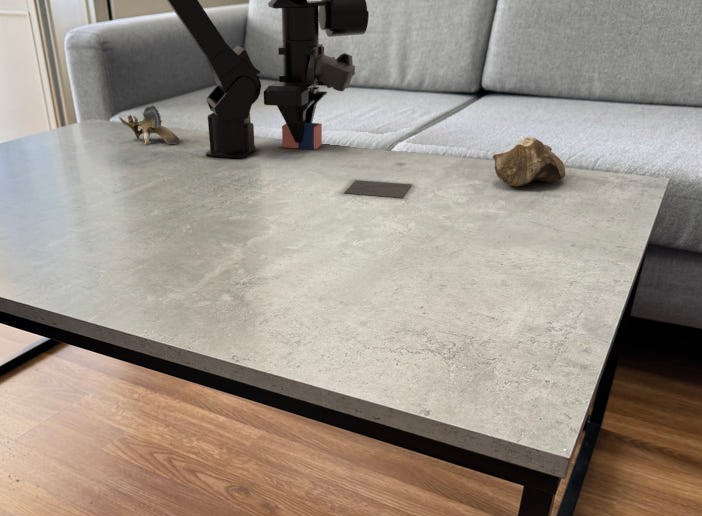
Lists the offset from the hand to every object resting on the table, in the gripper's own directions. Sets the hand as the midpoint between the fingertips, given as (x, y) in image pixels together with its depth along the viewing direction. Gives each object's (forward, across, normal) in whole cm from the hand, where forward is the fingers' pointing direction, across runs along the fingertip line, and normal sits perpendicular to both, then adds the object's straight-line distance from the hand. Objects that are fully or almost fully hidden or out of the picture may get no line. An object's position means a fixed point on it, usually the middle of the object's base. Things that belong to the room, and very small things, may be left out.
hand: (302, 140), depth 117 cm
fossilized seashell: (+1, -12, -37) cm, 39 cm away
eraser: (+1, 0, 0) cm, 1 cm away
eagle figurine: (+1, -3, +27) cm, 27 cm away
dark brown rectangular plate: (+1, -20, -18) cm, 27 cm away
